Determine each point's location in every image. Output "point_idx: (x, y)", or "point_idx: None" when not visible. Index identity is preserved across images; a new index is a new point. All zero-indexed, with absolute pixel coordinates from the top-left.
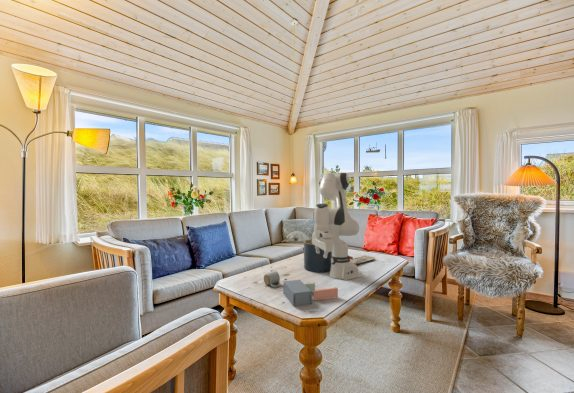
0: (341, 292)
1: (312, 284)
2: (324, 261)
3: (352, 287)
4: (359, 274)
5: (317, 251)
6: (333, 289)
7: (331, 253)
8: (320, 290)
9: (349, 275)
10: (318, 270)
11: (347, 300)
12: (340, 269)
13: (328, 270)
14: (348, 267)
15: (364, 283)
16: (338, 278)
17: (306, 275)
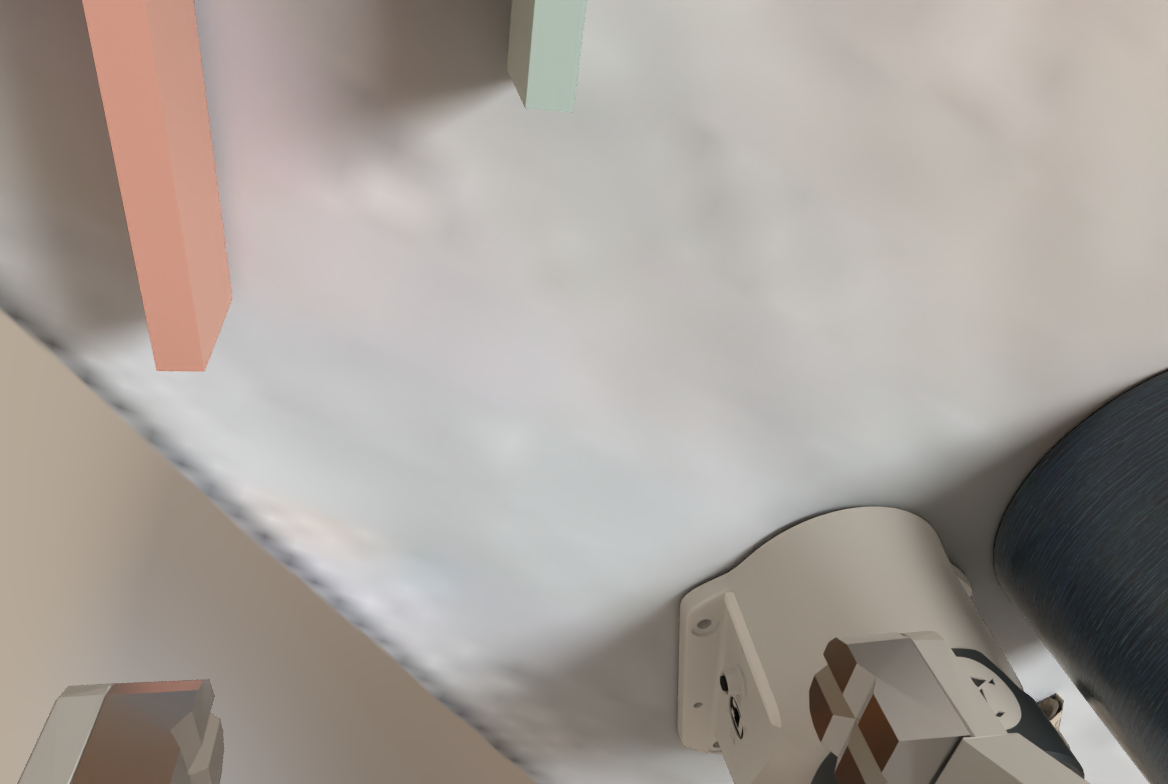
0: (369, 416)
1: (528, 46)
2: (1108, 607)
3: (470, 575)
4: (712, 739)
5: (874, 723)
6: (144, 288)
7: (1144, 769)
8: (84, 4)
9: (726, 666)
10: (1075, 460)
11: (78, 368)
12: (791, 660)
13: (1001, 554)
14: (762, 745)
15: (521, 697)
16: (756, 553)
17: (1106, 269)
